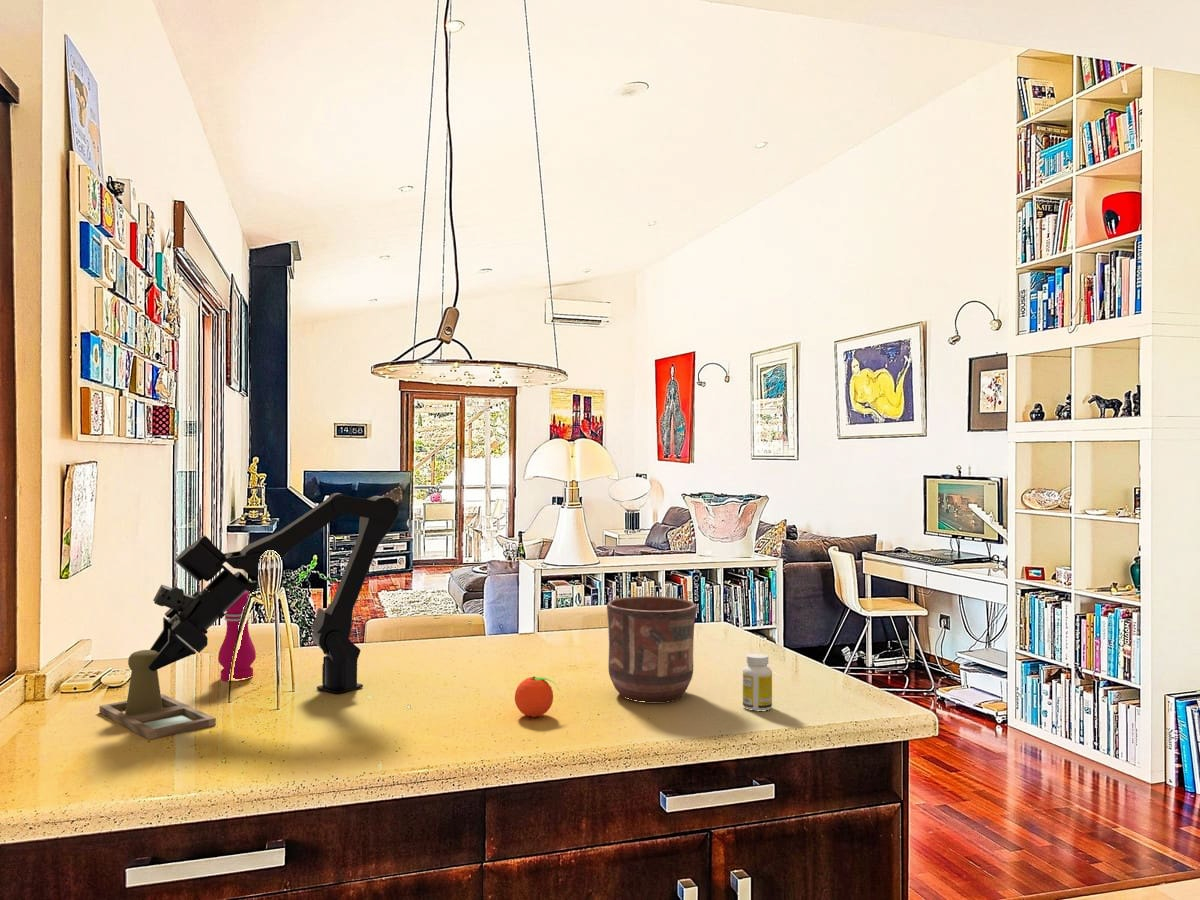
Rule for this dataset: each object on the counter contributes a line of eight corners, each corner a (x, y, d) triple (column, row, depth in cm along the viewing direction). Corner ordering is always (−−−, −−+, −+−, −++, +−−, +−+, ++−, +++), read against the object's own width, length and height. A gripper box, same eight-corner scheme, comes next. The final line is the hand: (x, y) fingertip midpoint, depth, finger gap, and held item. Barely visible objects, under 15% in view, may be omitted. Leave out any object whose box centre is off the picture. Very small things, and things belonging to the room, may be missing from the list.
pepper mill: (242, 683, 181) (243, 584, 181) (210, 681, 182) (211, 582, 182) (262, 674, 188) (263, 579, 188) (231, 672, 189) (232, 578, 190)
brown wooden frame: (215, 725, 153) (215, 718, 153) (149, 739, 145) (149, 732, 145) (162, 700, 168) (162, 694, 168) (99, 712, 160) (99, 705, 160)
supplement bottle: (773, 705, 169) (774, 653, 169) (769, 713, 164) (770, 659, 164) (745, 702, 170) (745, 651, 170) (740, 710, 165) (740, 657, 165)
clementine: (556, 709, 165) (557, 671, 165) (561, 721, 158) (561, 680, 158) (512, 711, 163) (513, 672, 163) (515, 722, 157) (516, 682, 157)
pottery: (708, 689, 180) (708, 599, 180) (678, 712, 164) (678, 613, 164) (627, 680, 187) (627, 593, 187) (591, 700, 171) (591, 606, 171)
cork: (133, 707, 163) (134, 647, 163) (168, 707, 164) (168, 647, 164) (118, 717, 157) (119, 654, 157) (154, 717, 158) (155, 654, 158)
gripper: (178, 563, 172) (111, 625, 166) (188, 575, 155) (114, 645, 150) (222, 601, 176) (158, 664, 170) (236, 617, 159) (165, 686, 154)
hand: (148, 664), depth 161 cm, fingers open, 9 cm apart
